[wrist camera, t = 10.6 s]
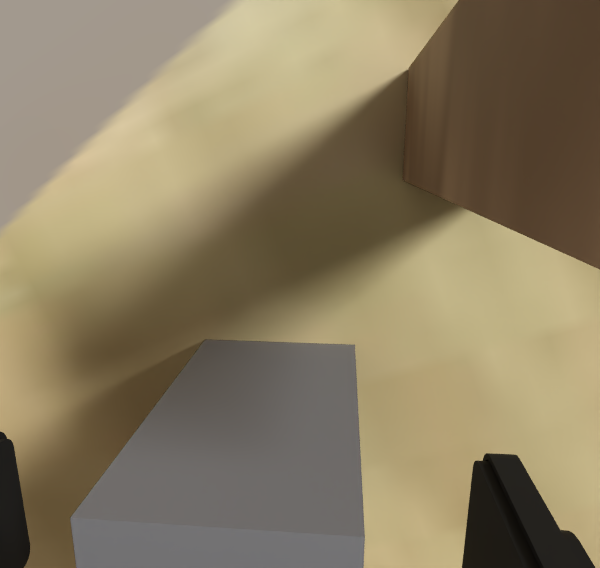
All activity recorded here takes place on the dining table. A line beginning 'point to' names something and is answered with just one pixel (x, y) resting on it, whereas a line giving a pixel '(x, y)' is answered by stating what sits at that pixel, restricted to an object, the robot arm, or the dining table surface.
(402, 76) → the dining table surface
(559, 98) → the door frame
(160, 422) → the block
